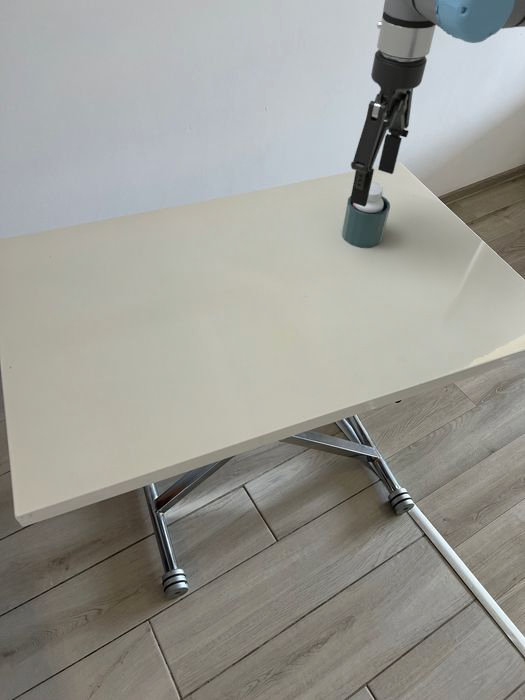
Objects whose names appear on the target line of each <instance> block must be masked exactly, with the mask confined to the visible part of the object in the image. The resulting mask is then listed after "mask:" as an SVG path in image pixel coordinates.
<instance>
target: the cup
mask: <svg viewBox="0 0 525 700" xmlns="http://www.w3.org/2000/svg"><path fill="white" fill-rule="evenodd" d="M381 198H382V200H383V202H384V205H383V210H382V212H381V213H378V214H367V213H363V212H360V211H358V210H356V209H355V208H353V203H352V202H350V199H351V195H350V196H349V197H348V198H347V200H346V201H347V202H346V207H345V212H344V217H343V219H344V220H343V224H342V230H341V236H342V238H343V240H344V241H345V242H347V243H348V244H350V245H351V246H354V247H357V248H364V249H365V248H366V249H367V248H373V247H376V246H378V245H379V244H380V243H381V242H382V240H383V238H384V234H385V230H386V227H387V226H386V225H387V222H388V218H389V215H390V210H391V203H390V202H389V200H388V199H387V198H386V197H385V196H383V195H382V197H381Z"/></svg>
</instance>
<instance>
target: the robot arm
mask: <svg viewBox="0 0 525 700" xmlns="http://www.w3.org/2000/svg"><path fill="white" fill-rule="evenodd" d="M382 10H383V11H382V16H381V17H382V18H381V20H379V21H378V23H377V24H376V27H377V29H379V32H378V38H377V43H376V49H378V50H376V51H375V53H374V58H373V63H372V68H371V74H370V75H371V80H372V81H373V82H374V83H375V84H377V85H378V86H379V88H380V90H379V92H378V93H377V94H376V95H375V99H374V100H371V101H369V103H368V107H367V112H366V117H365V120H364V124H363V128H362V132H361V134H360V136H359V140H358V143H357V146H356V150H355V154H354V157H353V160H352V161H351V163H350V168H351V169H352V170H354V171H355V173H354V178H353V183H352V189H351V194H350V196H351V199H350V202H352V203H355V204H358V205H361V206H364V207H365V206H366V205H367V200H368V195H369V191H370V186H371V182H373V176H374V172H375V168H373V167H374V165H375V162H376V160H377V158H378V155H379V152H380V148H381V146H382V144H383V146H382V150H381V155H380V159H379V164H378V169H377V170H378V171H380V172H383V173H387V174H390V175H393V174H394V172H395V167H396V164H397V159H398V155H399V152H400V147H401V143H402V139H403V138H407V137H408V136H409V132H410V131H409V130H407V129H408V127H409V125H410V116H411V108H412V102H413V101H412V100H413V92H414V89H415V88H417V87H419V86H420V85H421V83H422V81H423V77H424V73H425V70H426V66H427V62H428V60H427V57H426V56H428V55H429V54H430V51H431V47H432V43H433V38H434V34H435V30H436V27H439V28H440V29H441V30H442V31H443V32H445V33H446V35H449V36H451V37H452V38H455V39H458V40H461V41H463V42H466V43H469V44H478V43H482V42H485V41H486V40H487V39H488V38H490V37H491V36H493V35H496V34H497V33H498V32H499V31H501V30H504V29H511V28H525V0H384V4H383V9H382ZM387 132H388V133H387Z"/></svg>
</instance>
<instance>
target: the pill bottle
mask: <svg viewBox="0 0 525 700" xmlns="http://www.w3.org/2000/svg"><path fill="white" fill-rule="evenodd" d="M383 191H384V188H383V186H382V185H381V184H378V183H376V182H373V181H371V186H370V191H369V195H368V200H367V205H366V206H365V207H364V206H361V205H358V204H355V203H353V208H355V209H356V210H358V211H360V212H363V213H367V214H378V213H381V212H382V210H383V205H384V202H383V200H382V198H381V197H382V196H383Z"/></svg>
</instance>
